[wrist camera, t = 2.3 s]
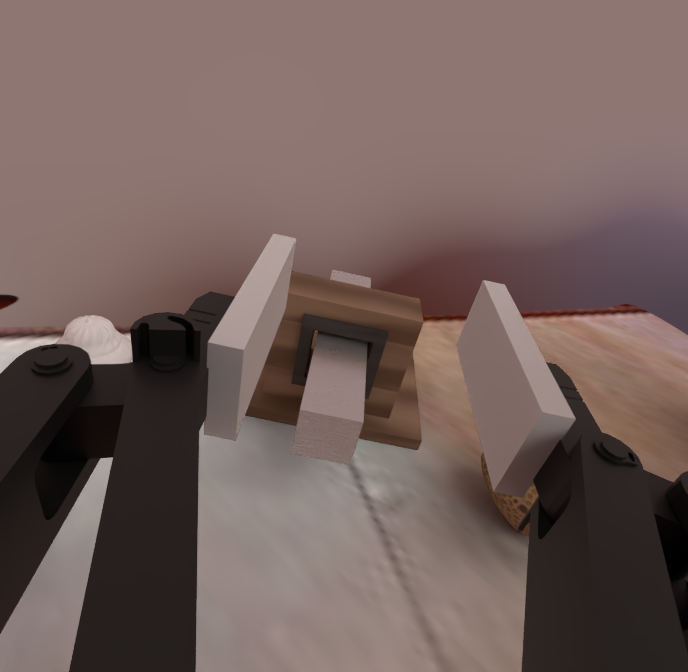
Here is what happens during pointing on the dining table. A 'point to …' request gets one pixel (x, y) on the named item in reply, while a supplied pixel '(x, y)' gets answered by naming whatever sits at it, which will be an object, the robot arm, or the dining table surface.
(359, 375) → the steel peg
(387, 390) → the wooden square hole stand
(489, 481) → the natural sponge
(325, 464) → the dining table surface
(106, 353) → the muffin
